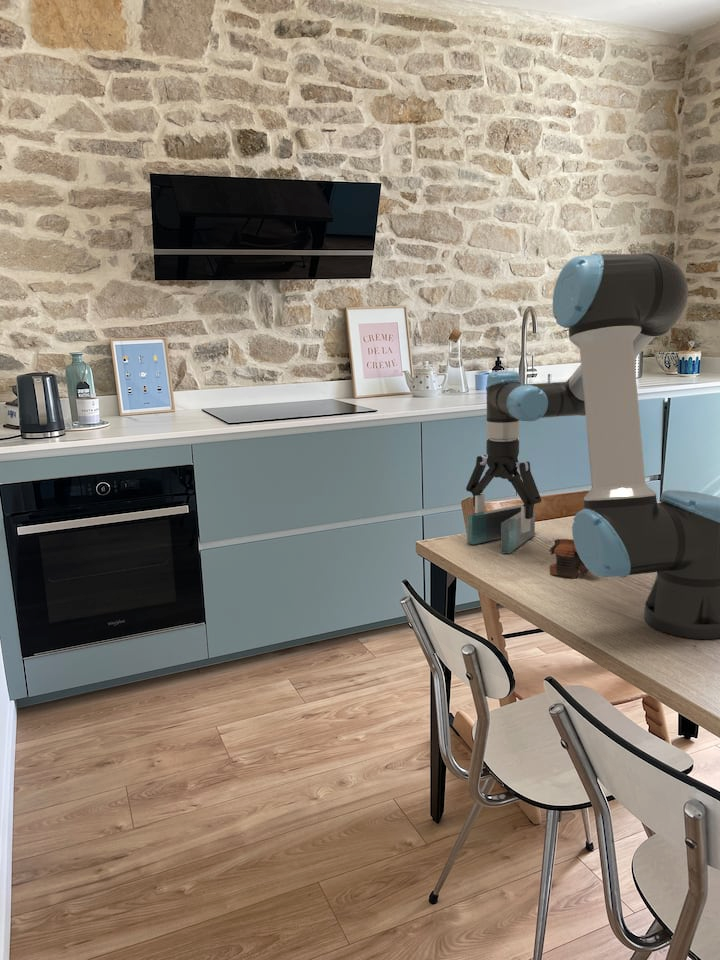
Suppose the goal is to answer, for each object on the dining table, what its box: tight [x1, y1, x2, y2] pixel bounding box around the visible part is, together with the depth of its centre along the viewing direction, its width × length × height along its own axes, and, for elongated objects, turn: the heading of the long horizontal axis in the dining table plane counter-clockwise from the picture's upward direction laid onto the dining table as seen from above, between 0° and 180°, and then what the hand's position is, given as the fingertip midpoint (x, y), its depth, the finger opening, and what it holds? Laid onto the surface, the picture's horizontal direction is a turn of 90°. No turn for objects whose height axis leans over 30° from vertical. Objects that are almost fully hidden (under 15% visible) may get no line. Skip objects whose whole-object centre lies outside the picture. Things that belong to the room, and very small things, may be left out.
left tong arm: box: [466, 504, 521, 546], centre depth 182 cm, size 16×2×7 cm, turn 118°
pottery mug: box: [548, 538, 589, 579], centre depth 158 cm, size 12×10×8 cm
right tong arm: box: [500, 507, 536, 554], centre depth 177 cm, size 16×2×7 cm, turn 146°
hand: (502, 526), depth 178 cm, fingers open, 13 cm apart
